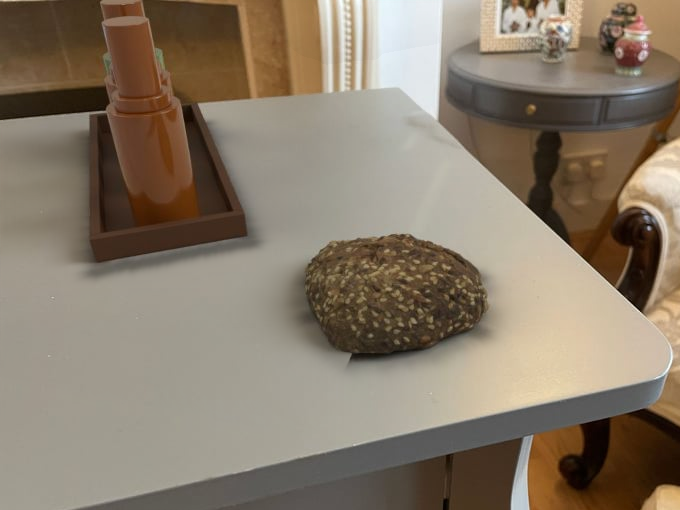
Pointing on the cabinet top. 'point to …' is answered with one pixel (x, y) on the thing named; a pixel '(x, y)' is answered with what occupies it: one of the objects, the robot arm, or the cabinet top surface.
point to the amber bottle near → (148, 128)
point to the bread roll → (393, 293)
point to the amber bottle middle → (120, 4)
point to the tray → (127, 241)
